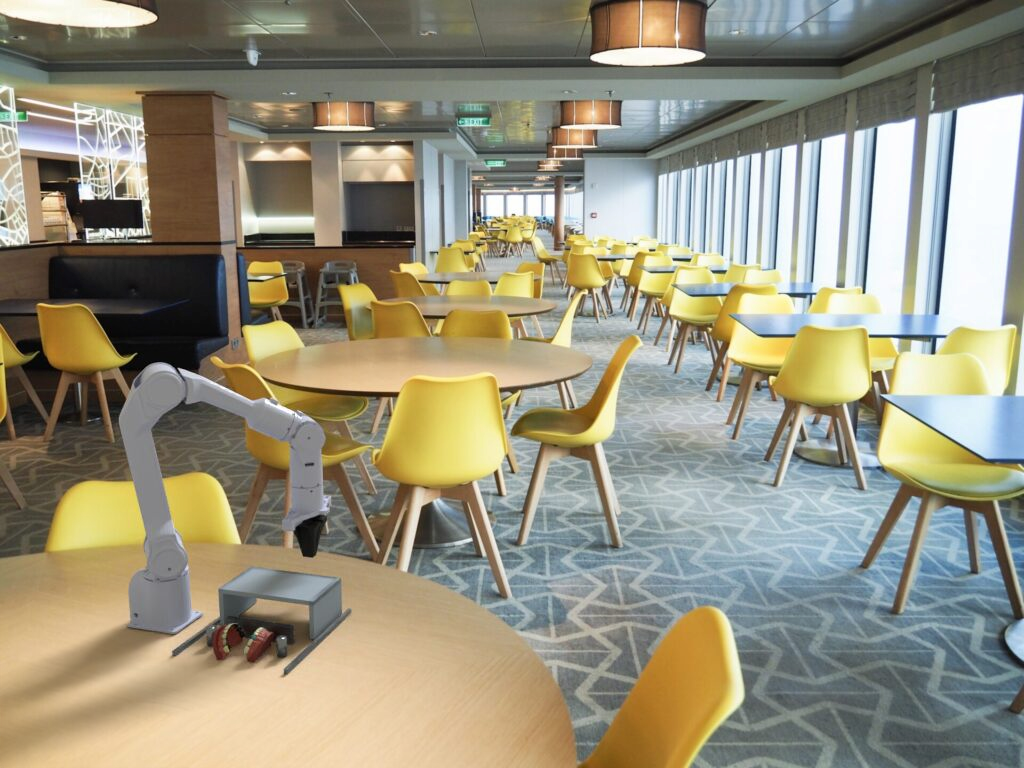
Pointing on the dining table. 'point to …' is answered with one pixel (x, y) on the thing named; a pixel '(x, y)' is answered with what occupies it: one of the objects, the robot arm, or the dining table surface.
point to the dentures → (233, 636)
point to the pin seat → (280, 630)
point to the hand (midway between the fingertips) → (309, 555)
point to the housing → (283, 594)
